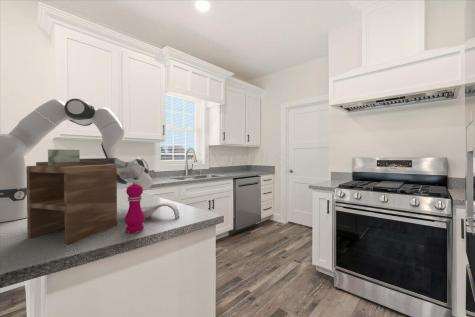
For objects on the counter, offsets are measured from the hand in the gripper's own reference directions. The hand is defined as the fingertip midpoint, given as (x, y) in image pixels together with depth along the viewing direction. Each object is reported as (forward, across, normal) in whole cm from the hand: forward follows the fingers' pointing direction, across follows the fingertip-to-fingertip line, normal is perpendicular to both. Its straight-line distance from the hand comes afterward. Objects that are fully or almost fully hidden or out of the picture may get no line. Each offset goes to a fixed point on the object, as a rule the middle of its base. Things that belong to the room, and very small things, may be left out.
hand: (109, 159), depth 99 cm
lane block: (+8, 0, +6) cm, 10 cm away
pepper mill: (-7, +21, +28) cm, 36 cm away
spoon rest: (-22, +17, +20) cm, 34 cm away
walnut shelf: (0, 0, +32) cm, 32 cm away
